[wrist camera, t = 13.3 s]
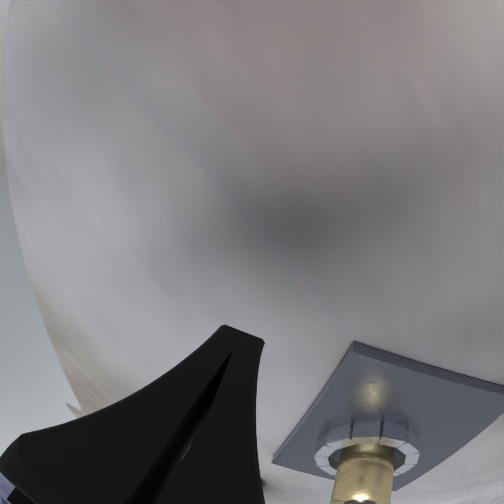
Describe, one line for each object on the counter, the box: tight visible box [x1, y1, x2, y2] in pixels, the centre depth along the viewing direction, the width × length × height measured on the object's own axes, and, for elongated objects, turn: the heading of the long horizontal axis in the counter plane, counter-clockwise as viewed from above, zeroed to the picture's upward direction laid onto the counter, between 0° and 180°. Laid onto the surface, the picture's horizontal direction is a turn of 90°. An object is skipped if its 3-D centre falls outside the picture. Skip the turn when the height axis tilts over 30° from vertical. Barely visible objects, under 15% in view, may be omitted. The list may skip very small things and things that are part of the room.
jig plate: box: [271, 341, 504, 491], centre depth 23 cm, size 16×20×2 cm
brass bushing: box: [330, 444, 395, 504], centre depth 21 cm, size 5×5×6 cm
